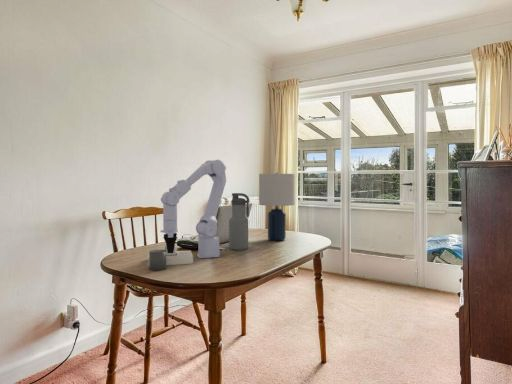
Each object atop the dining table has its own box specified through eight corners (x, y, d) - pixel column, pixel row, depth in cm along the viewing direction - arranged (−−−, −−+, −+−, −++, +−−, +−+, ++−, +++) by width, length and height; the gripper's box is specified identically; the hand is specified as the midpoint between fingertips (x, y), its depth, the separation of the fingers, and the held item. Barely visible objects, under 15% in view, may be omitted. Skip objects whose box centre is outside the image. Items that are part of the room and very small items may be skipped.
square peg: (175, 260, 148) (174, 244, 147) (175, 262, 144) (175, 246, 143) (165, 260, 147) (164, 244, 146) (165, 263, 143) (164, 246, 142)
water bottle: (248, 246, 178) (248, 192, 177) (250, 250, 168) (250, 193, 167) (228, 246, 177) (228, 192, 175) (229, 250, 167) (229, 193, 166)
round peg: (166, 266, 137) (166, 249, 137) (166, 270, 131) (166, 252, 131) (149, 267, 136) (149, 250, 135) (148, 271, 129) (148, 253, 129)
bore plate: (190, 257, 153) (190, 250, 153) (193, 263, 142) (192, 256, 142) (149, 259, 149) (149, 252, 149) (147, 266, 137) (147, 258, 137)
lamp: (272, 244, 182) (273, 172, 181) (252, 239, 199) (252, 172, 198) (301, 240, 194) (302, 172, 192) (279, 235, 210) (280, 172, 209)
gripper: (160, 218, 150) (160, 248, 151) (160, 222, 136) (160, 255, 137) (177, 217, 152) (177, 247, 153) (178, 221, 138) (178, 254, 139)
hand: (170, 251), depth 145 cm, fingers open, 5 cm apart
